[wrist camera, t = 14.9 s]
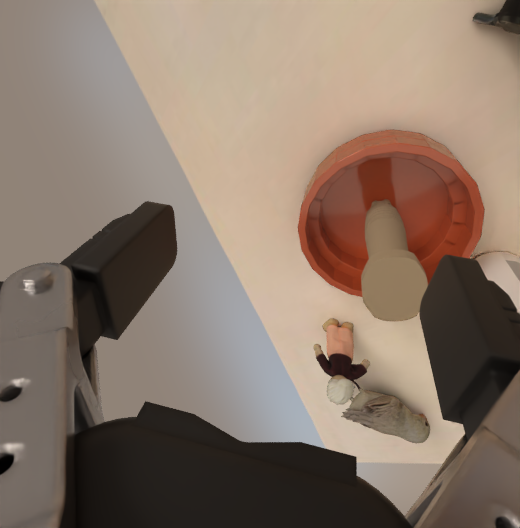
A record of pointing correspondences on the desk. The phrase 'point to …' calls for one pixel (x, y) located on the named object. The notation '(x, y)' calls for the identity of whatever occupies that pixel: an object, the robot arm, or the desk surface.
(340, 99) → the desk surface
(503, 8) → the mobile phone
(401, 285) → the handle
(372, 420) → the decorative bird
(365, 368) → the grandmother figurine
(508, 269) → the spray bottle
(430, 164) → the bowl
